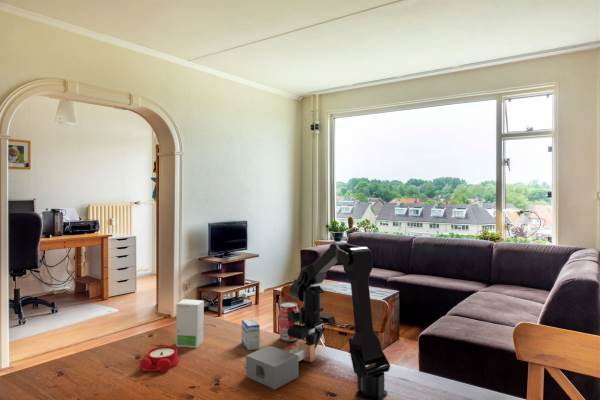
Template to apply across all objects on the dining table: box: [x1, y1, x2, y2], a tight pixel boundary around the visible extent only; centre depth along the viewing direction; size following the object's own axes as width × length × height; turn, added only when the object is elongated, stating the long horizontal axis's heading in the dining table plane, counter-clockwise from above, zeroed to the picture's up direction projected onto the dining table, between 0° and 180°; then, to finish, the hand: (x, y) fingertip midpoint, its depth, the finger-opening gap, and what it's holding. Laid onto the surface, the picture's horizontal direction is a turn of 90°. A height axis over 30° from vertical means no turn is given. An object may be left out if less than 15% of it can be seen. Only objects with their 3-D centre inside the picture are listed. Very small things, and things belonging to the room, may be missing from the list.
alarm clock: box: [139, 345, 181, 373], centre depth 129 cm, size 10×6×15 cm
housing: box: [245, 345, 300, 390], centre depth 121 cm, size 12×10×6 cm
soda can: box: [278, 301, 300, 342], centre depth 152 cm, size 7×7×13 cm
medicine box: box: [241, 318, 261, 351], centre depth 145 cm, size 8×4×9 cm, turn 25°
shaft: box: [262, 339, 316, 374], centre depth 126 cm, size 6×19×5 cm, turn 139°
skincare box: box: [175, 298, 205, 349], centre depth 147 cm, size 8×7×16 cm
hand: (312, 351), depth 135 cm, fingers closed
